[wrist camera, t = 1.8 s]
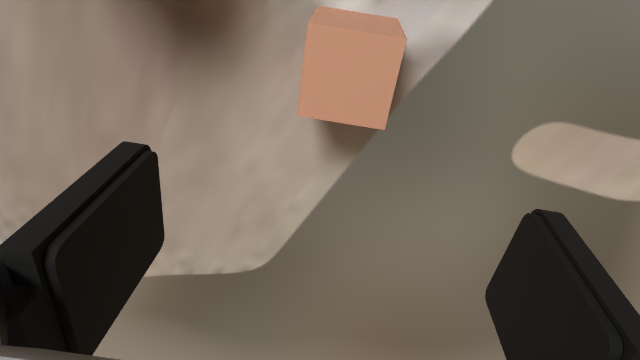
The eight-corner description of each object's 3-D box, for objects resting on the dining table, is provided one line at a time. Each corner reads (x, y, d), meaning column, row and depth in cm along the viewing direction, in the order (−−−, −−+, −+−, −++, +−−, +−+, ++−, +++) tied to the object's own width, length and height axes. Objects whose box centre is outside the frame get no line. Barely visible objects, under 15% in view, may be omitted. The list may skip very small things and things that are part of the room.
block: (397, 18, 25) (406, 38, 20) (380, 94, 27) (384, 130, 22) (318, 5, 25) (307, 22, 20) (308, 83, 27) (297, 115, 22)
